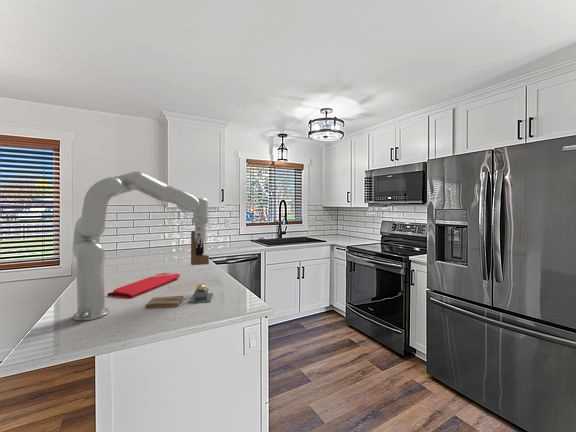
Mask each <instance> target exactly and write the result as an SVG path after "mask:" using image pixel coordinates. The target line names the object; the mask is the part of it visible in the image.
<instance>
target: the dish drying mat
mask: <svg viewBox="0 0 576 432" xmlns="http://www.w3.org/2000/svg"><path fill="white" fill-rule="evenodd" d="M180 277H181V274H179V273H174V272H173V273H172V272H171V273H170V272H169V273H168V272H165V273H157V274H154V275H153V276H149V277H147V278H144V279H141V280H138V281H135V282H132V283H128V284H126V285H123V286H120V287H118V288H117V287H116V288H114V290H113V291H111V292H108V293H107V297H115V298H116V297H117V298H123V297H124V298H125V299H133V298H135V297H138V296H140V295H143V294H146V293H148V292H151V291H153V290H155V289H157V288H159V287H162V286H164V285H166V284H169V283H170V282H173V281H175V280H176V279H179V278H180Z"/></svg>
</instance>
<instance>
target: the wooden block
mask: <svg viewBox="0 0 576 432" xmlns="http://www.w3.org/2000/svg"><path fill="white" fill-rule="evenodd" d="M196 242H197V239H196ZM196 242H195V230H191V232H190V264H191V266H201V265H209V264H210V257H209V255H208V254H202V255H196Z"/></svg>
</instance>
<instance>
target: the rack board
mask: <svg viewBox="0 0 576 432" xmlns="http://www.w3.org/2000/svg"><path fill="white" fill-rule="evenodd" d="M183 300H184V295H175V296H174V295H173V296H169V295H168V296H154V297H152V298H151V299H150V300H149V301H148V302H147V303H146V304H145V308H146V309H150V308H151V309H153V308H171V307H173V308H174V307H175V308H176V307H179V306H180V304H182V301H183Z"/></svg>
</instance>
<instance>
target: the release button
mask: <svg viewBox="0 0 576 432" xmlns="http://www.w3.org/2000/svg"><path fill="white" fill-rule="evenodd" d="M206 288H207V285H206V284H203V283H202V284H201V283H200V284H198V285H196V289H197V290H198V291H203V290H206Z"/></svg>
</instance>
